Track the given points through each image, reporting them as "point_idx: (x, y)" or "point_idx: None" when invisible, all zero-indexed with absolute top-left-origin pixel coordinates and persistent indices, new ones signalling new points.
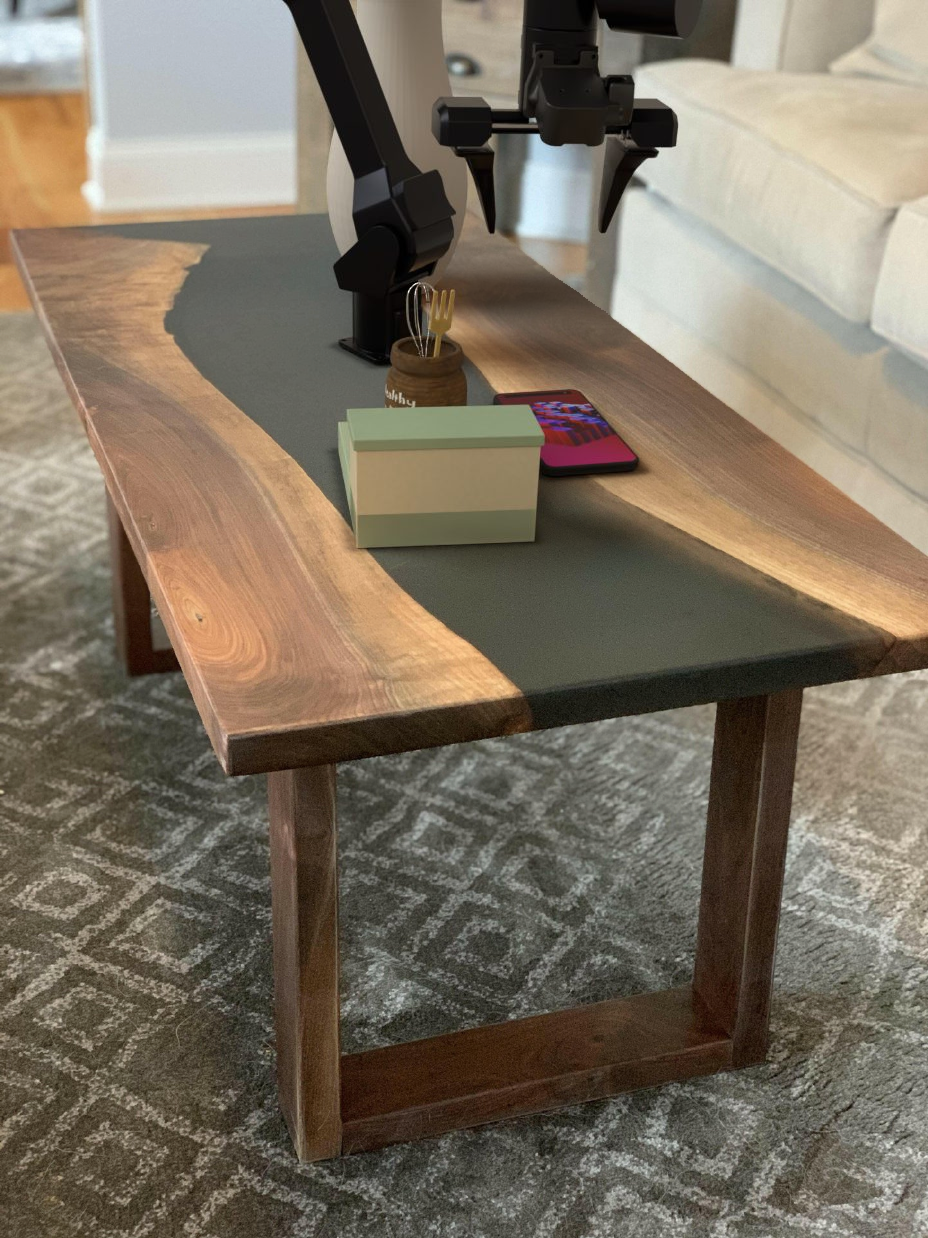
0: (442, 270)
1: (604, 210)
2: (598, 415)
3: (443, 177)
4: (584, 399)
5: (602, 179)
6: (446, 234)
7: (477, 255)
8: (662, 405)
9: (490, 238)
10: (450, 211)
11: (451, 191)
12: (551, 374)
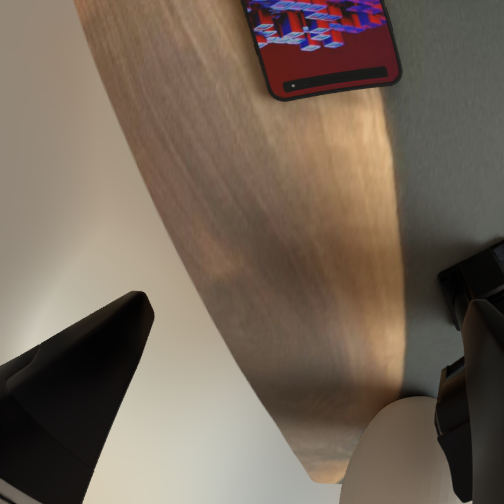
0: (377, 418)
1: (104, 327)
2: (248, 9)
3: (380, 500)
4: (265, 63)
5: (104, 430)
6: (457, 399)
7: (320, 448)
8: (168, 98)
9: (304, 461)
10: (451, 437)
11: (370, 487)
12: (303, 199)
